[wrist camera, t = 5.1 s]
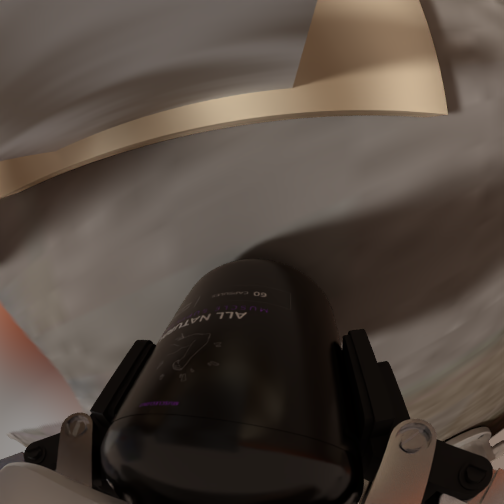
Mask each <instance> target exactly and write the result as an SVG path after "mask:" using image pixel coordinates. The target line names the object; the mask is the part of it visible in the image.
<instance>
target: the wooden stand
mask: <svg viewBox="0 0 504 504" xmlns="http://www.w3.org/2000/svg"><path fill="white" fill-rule="evenodd" d="M353 115H385V116H411V117H432V116H441V115H448V112H447V105H446V98H445V92H444V87H443V81H442V77H441V72H440V67H439V63H438V59H437V55H436V51H435V47H434V44H433V40H432V37H431V33H430V30H429V27H428V24H427V21H426V18H425V15H424V12H423V10H422V7H421V4H420V2H419V0H0V199H1V198H4V197H7V196H10V195H13V194H16V193H19V192H21V191H23V190H25V189H27V188H30V187H32V186H34V185H36V184H38V183H41V182H43V181H45V180H48V179H50V178H52V177H55V176H57V175H60V174H62V173H65V172H67V171H70V170H73V169H75V168H78V167H81V166H83V165H86V164H89V163H92V162H95V161H97V160H100V159H103V158H106V157H109V156H113V155H116V154H119V153H122V152H125V151H129V150H132V149H136V148H139V147H143V146H146V145H150V144H154V143H158V142H162V141H166V140H170V139H174V138H178V137H183V136H187V135H192V134H196V133H201V132H206V131H211V130H217V129H222V128H228V127H234V126H240V125H247V124H254V123H261V122H269V121H278V120H287V119H298V118H310V117H326V116H353Z"/></svg>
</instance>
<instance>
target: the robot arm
mask: <svg viewBox="0 0 504 504" xmlns="http://www.w3.org/2000/svg"><path fill="white" fill-rule="evenodd" d="M155 346H156V345H155V344H153V342H152V341H150V340H137V341H136V342H135V343H134V345H133V346H132V348H131V349H130V350H129V352H128V353H127V355H126V356H125V358H124V359H123V361H122V362H121V364H120V365H119V367H118V368H117V370H116V371H115V373H114V374H113V376H112V377H111V379H110V380H109V382H108V383H107V385H106V386H105V388H104V389H103V391H102V392H101V394H100V396H99V397H98V399H97V400H96V402H95V403H94V405H93V407H92V408H91V410H90V411H91V413H92V414H91V415H90V416H89V415H88V414H85V413H75V414H72V415H70V416H68V417H67V418H66V419H65V420H64V422H63V423H62V427H61V432H60V433H58V434H56V435H53V436H50V437H47V438H45V439H42V440H39V441H36V442H33V443H31V444H30V445H29V446H28V447H27V448H26V450H25V453H23V452H21V453H18V454H15V455H13V456H10V457H7V458H4V459H1V460H0V504H131V503H128V502H125V501H123V500H121V499H120V498H119V497H118V496H117V495H116V493H115V492H114V491H113V489H112V488H111V486H110V485H109V483H108V482H107V480H106V478H105V475H104V473H103V470H102V465H101V456H100V448H101V444H102V440H103V438H104V436H105V434H106V432H107V430H108V427H109V425H110V424H111V422H112V420H113V418H114V416H115V415H116V413H117V411H118V409H119V408H120V406H121V404H122V402H123V401H124V399H125V397H126V395H127V394H128V392H129V390H130V389H131V387H132V385H133V383H134V382H135V380H136V378H137V377H138V375H139V373H140V372H141V370H142V368H143V366H144V365H145V363H146V361H147V360H148V358H149V356H150V355H151V353H152V351H153V350H154V348H155ZM342 352H343V357H344V361H345V366H346V371H347V376H348V380H349V385H350V391H351V396H352V401H353V407H354V412H355V418H356V424H357V430H358V436H359V443H360V450H361V457H362V464H363V477H364V479H366V480H368V481H369V482H368V485H367V487H366V489H365V491H364V494H363V496H362V498H361V500H360V502H359V504H504V470H503V469H500V468H499V469H498V470H494V469H493V467H492V465H491V463H492V462H493V461H494V460H496V459H498V458H500V457H501V456H502V455H503V454H504V440H503V441H501V442H499V443H497V444H496V445H495V446H493V447H492V446H490V443H489V440H490V438H491V432H490V430H489V428H487V427H479V428H475V429H472V430H469V431H467V432H465V433H462V434H460V435H458V436H456V437H454V438H452V439H450V440H448V441H447V442H442V441H440V440H437V434H436V431H435V428H434V427H433V426H432V425H431V424H430V423H428V422H427V421H425V420H421V419H410V417H409V414H408V411H407V408H406V406H405V403H404V400H403V397H402V395H401V392H400V389H399V387H398V384H397V381H396V379H395V376H394V374H393V371H392V369H391V366H390V364H389V362H387V361H384V362H379V363H377V361H376V358H375V355H374V352H373V350H372V347H371V345H370V342H369V339H368V337H367V334H366V332H365V330H364V329H360V330H352V331H349V332H348V335H345V336H343V348H342Z"/></svg>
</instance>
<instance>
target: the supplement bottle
mask: <svg viewBox="0 0 504 504" xmlns="http://www.w3.org/2000/svg"><path fill="white" fill-rule="evenodd" d="M100 456H101V465H102V470H103V473H104V475H105V478H106V480H107V482H108V483H109V485H110V486H111V488H112V489H113V491H114V492H115V493H116V495H117V496H118V497H119V498H120V499H121V500H123V501H125V502H128V503H131V504H358V502H359V500H360V498H361V495H362V492H363V486H364V477H363V464H362V457H361V450H360V443H359V436H358V430H357V424H356V418H355V412H354V407H353V401H352V396H351V391H350V385H349V380H348V376H347V371H346V366H345V361H344V357H343V352H342V347H341V343H340V339H339V334H338V330H337V326H336V322H335V319H334V315H333V312H332V308H331V306H330V304H329V301H328V299H327V297H326V296H325V294H324V293H323V291H322V290H321V288H320V287H319V286H318V285H317V284H316V283H315V282H314V281H313V280H312V279H311V278H309V277H308V276H307V275H305V274H304V273H302V272H301V271H299V270H297V269H296V268H293V267H291V266H289V265H286V264H283V263H280V262H276V261H272V260H266V259H244V260H238V261H233V262H230V263H227V264H224V265H222V266H219V267H217V268H215V269H213V270H212V271H210V272H209V273H207V274H206V275H204V276H203V277H202V278H201V279H200V280H199V281H198V282H197V283H196V284H195V286H194V287H193V288H192V290H191V291H190V292H189V294H188V295H187V297H186V298H185V300H184V301H183V303H182V304H181V306H180V308H179V309H178V311H177V312H176V314H175V316H174V317H173V319H172V320H171V322H170V324H169V325H168V327H167V328H166V330H165V332H164V333H163V335H162V337H161V338H160V340H159V342H158V343H157V345H156V346H155V348H154V350H153V351H152V353H151V355H150V356H149V358H148V360H147V361H146V363H145V365H144V366H143V368H142V370H141V372H140V373H139V375H138V377H137V378H136V380H135V382H134V383H133V385H132V387H131V389H130V390H129V392H128V394H127V395H126V397H125V399H124V401H123V402H122V404H121V406H120V408H119V409H118V411H117V413H116V415H115V416H114V418H113V420H112V422H111V424H110V425H109V427H108V430H107V432H106V434H105V436H104V438H103V440H102V444H101V448H100Z"/></svg>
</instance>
